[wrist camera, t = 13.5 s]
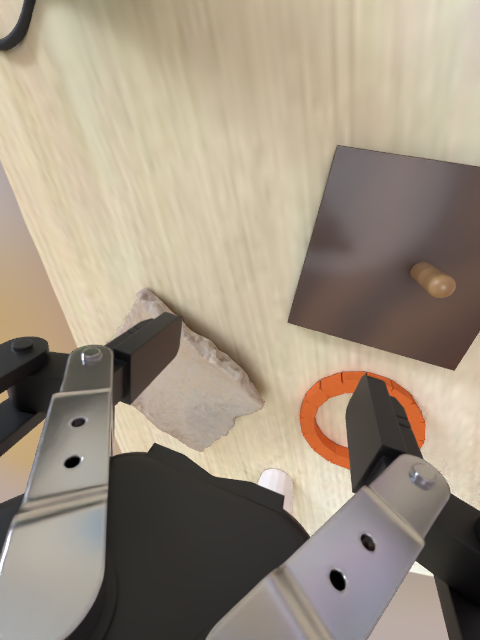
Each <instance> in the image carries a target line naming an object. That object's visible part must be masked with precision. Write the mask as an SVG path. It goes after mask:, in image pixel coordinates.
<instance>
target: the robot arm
mask: <svg viewBox="0 0 480 640" xmlns="http://www.w3.org/2000/svg"><path fill="white" fill-rule="evenodd" d="M34 4H35V0H24V3H23V7H22V11H21V14H20V17H19V20H18V22H17V24H16V26H15V28H14V29H13V30H12V32H11V33H10V34H9V35H8V36H6V37H5V38H3V39H0V50H8V49H11V48H13V47H14V46H16V45H17V44H18V43H19V42H20V41H21V40H22V38H23V37H24V35H25V34H26V32H27V29H28V27H29V23H30V20H31V16H32V12H33V8H34ZM181 330H182V317H181V316H179V315H175V314H172V313H169V312H163V313H162V314H161V315H159V316H158V317H156V318H155V319H153V318H150V319H147V320H144V321H140V322H139V323H137V324H136V325H134V326H133V328H130V329H128V330H127V331H126V332H124V333H122V334H121V335H119V336H118V337H116V338H115V339H113V340H112V341H110V342H109V343H107V344H106V345H104V346H102V345H87V346H83V347H80V348H77V349H76V350H74V351H72V352H71V353H70V354H65V353H56V352H49V346H48V342H47V341H46V340H44V339H42V338H39V337H21V338H16V339H12V340H9V341H7V342H5V343H3V344H1V345H0V394H1V393H2V392H4V391H5V390H7V391H8V396H9V398H8V399H7V400H5V401H3V402H2V403H1V404H0V456H2V455H3V454H4V453H5V452H6V451H8V450H9V449H10V448H11V447H12V446H13V445H15V444H16V443H17V442H18V441H19V440H20V439H22V438H23V437H24V436H25V435H26V434H27V433H29V432H30V431H31V430H32V429H33V428H35V427H36V426H37V425H38V424H39V423H40V422H42V421H43V420H44V419H45V418H46V419H45V422H44V426H43V429H42V433H41V436H40V440H39V444H38V447H37V451H36V454H35V458H34V461H33V465H32V469H31V472H30V476H29V480H28V483H27V487H26V490H25V493H24V494H22V495H19V496H17V497H15V498H12V499H10V500H8V501H5V502H3V503H0V640H367V639H368V638H369V636H370V634H371V633H372V631H373V629H374V627H375V626H376V624H377V623H378V621H379V619H380V618H381V616H382V614H383V613H384V611H385V610H386V608H387V606H388V605H389V603H390V601H391V600H392V598H393V596H394V595H395V593H396V592H397V590H398V588H399V586H400V585H401V583H402V582H403V580H404V578H405V576H406V575H407V573H408V572H409V570H410V569H411V567H412V565H413V564H414V562H415V561H417V562H418V563H419V564H421V565H422V566H423V567H425V568H426V569H427V570H429V571H430V572H431V573H433V574H434V578H435V582H436V587H437V591H438V595H439V599H440V603H441V607H442V612H443V616H444V620H445V624H446V628H447V632H448V636H449V640H480V511H479V510H477V509H475V508H474V507H472V506H470V505H469V504H467V503H466V502H464V501H462V500H461V499H459V498H457V497H456V496H454V495H453V494H451V493H450V488H449V485H448V483H447V481H446V480H445V478H444V477H443V476H442V475H441V473H440V472H439V471H438V470H437V469H436V468H435V467H433V466H432V465H431V464H430V463H428V462H427V461H425V460H424V459H423V457H422V454H421V451H420V449H419V446H418V443H417V441H416V438H415V435H414V433H413V430H411V428H412V427H411V425H410V422H409V421H408V417H407V414H406V412H405V409H404V407H403V406H402V405H401V404H400V402H399V401H398V400H397V399H396V398H395V397H393V396H390V395H389V392H388V389H387V386H386V383H385V381H383V380H380V379H377V378H374V377H371V376H368V375H363V376H362V377H361V379H360V381H359V383H358V385H357V387H356V389H355V391H354V393H353V395H352V397H351V399H350V401H349V403H348V406H347V409H346V429H347V439H348V450H349V461H350V472H351V482H352V492H353V493H356V494H355V495H354V496H353V497H352V498H351V499H350V500H348V501H347V502H346V503H345V504H344V505H343V506H342V507H341V508H340V509H339V510H338V511H337V512H336V513H335V514H334V515H333V516H332V517H331V518H330V519H329V520H328V521H327V522H326V523H325V524H324V525H323V526H322V527H321V528H320V529H318V530H317V531H316V532H315V533H314V534H313V535H312V536H311V537H310V536H309V534H308V533H307V532H306V530H305V529H304V528H303V527H302V525H301V524H300V523H299V522H298V521H297V520H296V519H295V518H294V517H293V516H292V515H291V514H290V513H289V512H287V511H286V510H285V509H283V505H284V498H285V496H284V495H282V494H279V493H277V492H274V491H272V490H270V489H267V488H265V487H262V486H260V485H257V484H255V483H252V482H248V481H241V480H234V479H227V478H220V477H215V476H212V475H211V474H209V473H208V472H207V471H205V470H204V469H203V468H201V467H200V466H199V465H197V464H196V463H195V462H193V461H192V460H191V459H189V458H188V457H187V456H185V455H183V454H181V453H179V452H176V451H174V450H171V449H169V448H166V447H164V446H161V445H159V444H156V443H154V444H153V446H152V447H151V448H150V450H149V451H148V453H147V452H130V453H123V454H118V455H115V456H114V426H115V405H116V404H117V403H118V402H119V401H121V402H123V403H126V404H129V405H131V404H132V403H133V402H134V401H135V400H136V399H137V397H138V396H139V395H140V394H141V393H142V392H143V391H144V390H145V389H146V388H147V387H148V386H149V385H150V384H151V383H152V382H153V381H154V379H155V378H156V377H157V376H158V375H159V374H160V373H161V372H162V371H163V370H164V369H165V368H166V367H167V366H168V365H169V364H170V362H171V361H172V360H173V359H174V358H175V357H176V355H177V353H178V351H179V347H180V339H181Z"/></svg>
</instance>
